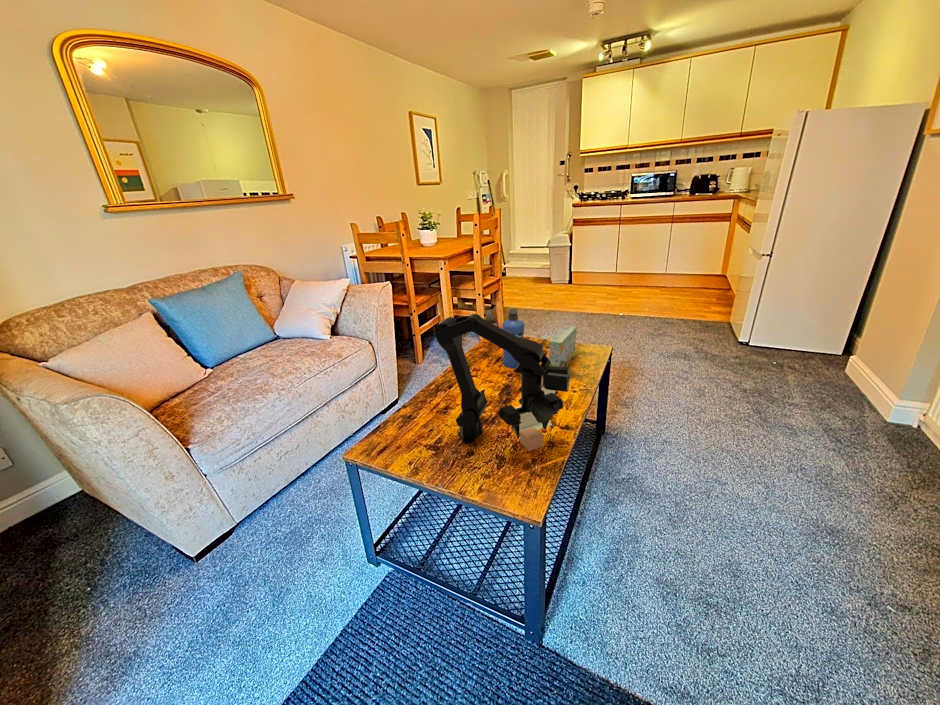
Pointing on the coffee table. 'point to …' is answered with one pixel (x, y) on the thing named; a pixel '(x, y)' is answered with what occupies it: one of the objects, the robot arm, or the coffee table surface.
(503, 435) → the coffee table surface
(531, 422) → the bottom brick
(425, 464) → the coffee table surface
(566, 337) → the snack box
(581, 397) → the coffee table surface
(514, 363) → the water bottle
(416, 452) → the coffee table surface
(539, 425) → the baseplate
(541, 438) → the top brick
